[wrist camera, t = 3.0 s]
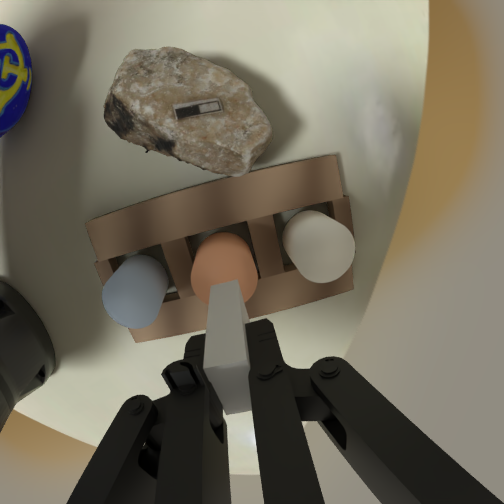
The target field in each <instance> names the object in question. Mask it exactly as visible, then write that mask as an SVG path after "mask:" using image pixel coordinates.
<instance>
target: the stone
mask: <svg viewBox="0 0 504 504" xmlns="http://www.w3.org/2000/svg"><path fill="white" fill-rule="evenodd" d="M104 108H105V109H104V119H105V122H106V123H107V125H108V126H109V127H110V128H111V129H112V130H113V131H115V133H116V134H117V135H118V136H119V137H120V138H121V139H124V140H127V141H128V142H129V143H130V142H132V143H133V144H136V145H140V146H142V147H144V148H146V150H147V151H146V153H147V152H148V151H150V150H154V151H157V152H159V153H161V154H164V155H166V156H172V157H175V158H177V159H178V160H179V161H185V162H186V163H187V164H188V163H191V164H193V165H195V166H197V167H200V168H201V169H203V170H209V171H211V172H213V173H217V174H225V175H230V176H233V177H240V176H242V175H245V174H247V173H249V172H250V170H251V168H252V165H253V164H254V163H255V161H256V160H257V158H258V157H259V156H260V155H261V154H262V153H264V151H265V149H266V148H267V147H268V145H269V144H270V143H271V141H272V139H273V131H272V127H271V125H270V122H269V120H268V118H267V116H266V115H265V114H264V112H263V111H262V110H261V108H260V107H259V106H258V105H257V104H256V103H255V101H254V99H253V94H252V90H251V88H250V86H249V85H248V84H247V83H245V82H244V81H243V80H241V79H240V78H238V77H237V76H235V75H234V74H233V73H232V72H231V71H230V70H229V69H227V68H224V67H220V66H218V65H215V64H213V63H212V62H210V61H208V60H206V59H203V58H200V57H197V56H194V55H192V54H190V53H188V52H187V51H185V50H182V49H179V48H175V47H163V48H160V49H149V50H141V49H135V50H131V51H130V53H129V54H128V55H127V56H126V57H125V58H124V61H123V63H122V65H121V66H120V67H119V68H118V70H117V73H116V75H115V78H114V82H113V84H112V86H111V88H110V90H109V92H108V95H107V98H106V101H105V105H104Z"/></svg>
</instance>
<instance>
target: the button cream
mask: <svg viewBox="0 0 504 504" xmlns="http://www.w3.org/2000/svg"><path fill="white" fill-rule="evenodd" d="M282 241H283V246H284V249H285V251H286V253H287V254H288V256H289V257H290V258H291V260H292V261H293V263H294V264H295V266H296V267H297V269H298V270H299V272H300V273H301V274H302V275H303V276H304V277H305V278H306V279H308V280H310V281H312V282H316V283H327V282H331V281H334V280H336V279H338V278H339V277H341V276H342V275H343V274H344V273H345V272H346V271H347V270H348V268H349V267H350V265H351V264H352V261H353V259H354V255H355V242H354V238H353V236H352V234H351V232H350V231H349V230H348V229H347V228H346V227H345V226H344V225H342V224H340V223H339V222H337V221H335V220H333V219H332V218H330V217H328V216H326V215H325V214H323V213H321V212H319V211H315V210H306V211H302V212H299V213H297V214H296V215H294V216H293V217H292V218H291V219H290V220H289V221H288V222H287V224H286V226H285V228H284V231H283V236H282Z"/></svg>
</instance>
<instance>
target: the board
mask: <svg viewBox="0 0 504 504" xmlns="http://www.w3.org/2000/svg"><path fill="white" fill-rule="evenodd" d="M322 202H327V208H328V214H329V217H330V218H332V219H333V220H335V221H337V222H339V223H340V224H342V225H344V226H345V227H346V228H347V229H348V230H349V231H350V232H351V234H352V236H353V238H354V232H353V224H352V216H351V209H350V202H349V196H346V195H343V192H342V186H341V180H340V175H339V169H338V164H337V159H336V155H328V156H323V157H317V158H312V159H306V160H301V161H296V162H291V163H286V164H282V165H277V166H272V167H268V168H263V169H259V170H255V171H250V172H249V173H247V174H245V175H242V176H240V177H233V176H230V177H226V178H222V179H218V180H214V181H211V182H207V183H203V184H200V185H196V186H193V187H189V188H186V189H182V190H179V191H175V192H172V193H169V194H165V195H162V196H159V197H156V198H153V199H150V200H146V201H143V202H140V203H137V204H134V205H131V206H128V207H125V208H123V209H120V210H117V211H114V212H111V213H108V214H106V215H103V216H100V217H97V218H95V219H92V220H90V221H88V222H86V223H85V226H86V229H87V232H88V234H89V237H90V240H91V243H92V246H93V249H94V251H95V254H96V257H97V259H98V260H97V261H96V262H95V263H94V264H95V267H96V269H97V272H98V274H99V277H100V279H101V282H102V284H103V286H104V285H105V283H106V282H107V281H108V280H109V278H110V277H111V276H112V275H113V274H114V273H115V271H116V270H117V269H118V268H119V265H118V263H117V260H116V258H115V257H117V256H120V255H124V254H127V253H130V252H134V251H137V250H141V249H144V248H148V247H151V246H154V245H158V244H161V246H162V249H163V252H164V255H165V258H166V261H167V264H168V267H169V269H170V272H171V275H172V278H173V281H174V283H175V286H176V289H177V291H178V292H176V293H172V294H168V295H165V297H164V299H163V302H162V305H161V307H160V310H159V313H158V315H157V317H156V319H155V320H154V322H153V323H152V324H150V325H149V326H147V327H144V328H139V329H133V328H128V329H129V331H130V333H131V335H132V337H133V339H134V341H135V343H139V342H145V341H150V340H156V339H161V338H166V337H171V336H176V335H181V334H186V333H191V332H196V331H200V330H205V329H206V328H207V317H208V307H209V305H207V304H205V303H204V302H202V301H201V300H200V299H199V298H198V297H197V296H196V294H195V292H194V291H193V288H192V285H191V272H192V268H193V264H194V260H195V258H194V254H193V251H192V248H191V245H190V242H189V238H188V236H190V235H194V234H198V233H201V232H205V231H209V230H213V229H216V228H220V227H224V226H228V225H232V224H236V223H240V222H243V221H247V225H248V229H249V233H250V237H251V241H252V245H253V249H254V253H255V257H256V261H257V265H258V270H259V272H257V274H258V282H257V287H256V289H255V292H254V293H253V295H252V296H251V297H250V298H249V299H248V300H247V301H246V302H245V303H244V304H245V307H246V310H247V314H248V317H249V319H251V318H255V317H259V316H263V315H267V314H271V313H275V312H278V311H282V310H286V309H289V308H293V307H297V306H300V305H304V304H307V303H310V302H314V301H317V300H321V299H324V298H327V297H331V296H334V295H337V294H340V293H343V292H347V291H350V290H353V289H354V286H353V273H352V264H351V265H350V267H349V268H348V270H347V271H346V272H345V273H344V274H343V275H342V276H341V277H339V278H338V279H336V280H334V281H331V282H327V283H316V282H312V281H310V280H308V279H306V278H305V277H304V276H303V275H302V274H301V273H300V272H299V270H298V269H297V267H296V266H295V264H294V263H291V264H287V265H283V261H282V256H281V252H280V247H279V242H278V238H277V233H276V228H275V224H274V219H273V215H272V214H276V213H280V212H284V211H288V210H292V209H296V208H301V207H305V206H309V205H313V204H318V203H322ZM354 242H355V241H354ZM355 253H356V251H355Z"/></svg>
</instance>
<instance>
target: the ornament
mask: <svg viewBox="0 0 504 504" xmlns="http://www.w3.org/2000/svg"><path fill="white" fill-rule="evenodd" d="M31 85H32V65H31V58H30V54H29V51H28V47H27V45H26V43H25V41H24V39H23V38H22V37H21V35H20V34H19V33H18V32H17V31H16V30H14V29H13V28H11V27H10V26H7V25H4V24H0V137H2V136H3V135H4V134H5V133H7V132H8V131H9V130H10V129H12V128H13V127H14V125H15V124H16V123H17V122H18V121H19V120H20V118H21V117H22V115H23V113H24V112H25V109H26V107H27V104H28V100H29V97H30V91H31Z"/></svg>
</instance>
